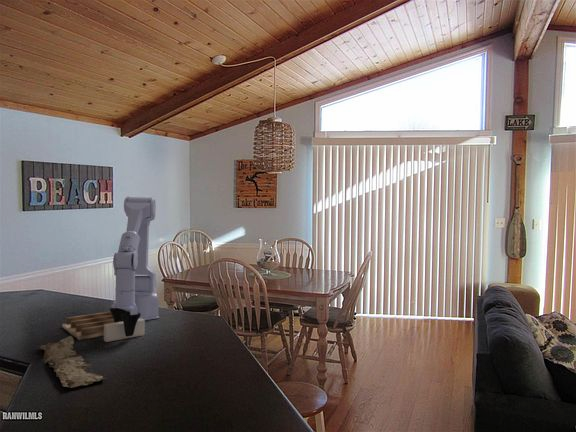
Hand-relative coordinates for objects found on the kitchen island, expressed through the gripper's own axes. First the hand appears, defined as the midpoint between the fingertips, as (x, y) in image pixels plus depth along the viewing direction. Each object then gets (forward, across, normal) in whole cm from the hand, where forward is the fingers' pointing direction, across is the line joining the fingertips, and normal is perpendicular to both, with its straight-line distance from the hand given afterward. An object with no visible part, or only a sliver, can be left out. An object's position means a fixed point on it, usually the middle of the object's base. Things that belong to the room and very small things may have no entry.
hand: (124, 332), depth 144 cm
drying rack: (+1, -14, -3) cm, 14 cm away
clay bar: (+2, 0, 0) cm, 2 cm away
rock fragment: (+2, +14, -20) cm, 25 cm away
